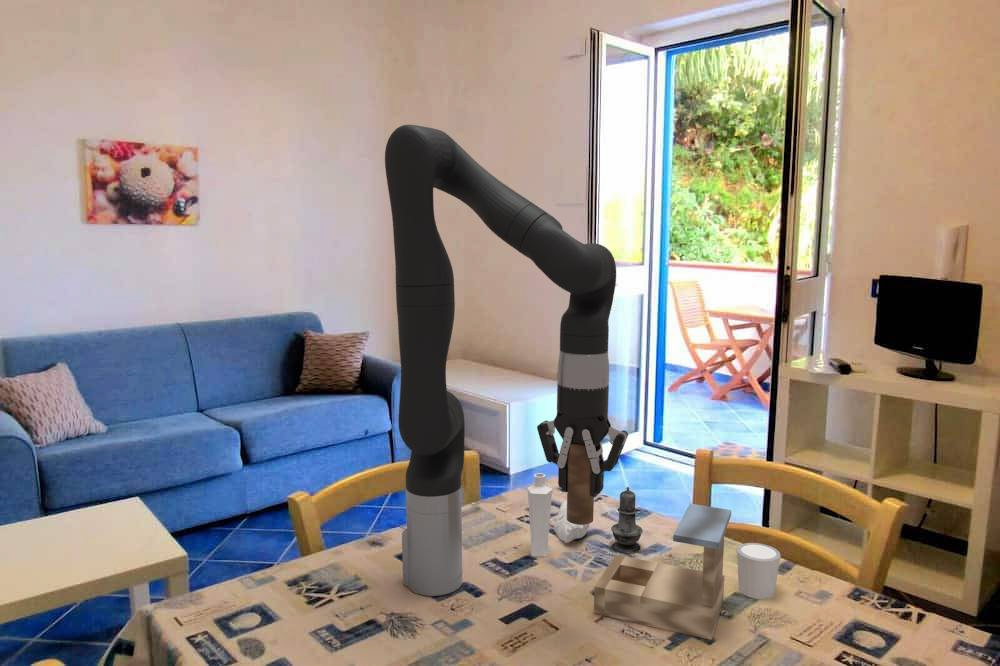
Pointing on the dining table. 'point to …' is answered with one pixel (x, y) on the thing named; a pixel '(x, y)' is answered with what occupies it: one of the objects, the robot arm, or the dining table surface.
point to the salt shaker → (626, 525)
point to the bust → (568, 526)
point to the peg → (579, 486)
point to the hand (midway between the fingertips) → (580, 492)
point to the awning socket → (671, 581)
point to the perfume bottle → (539, 516)
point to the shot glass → (757, 570)
